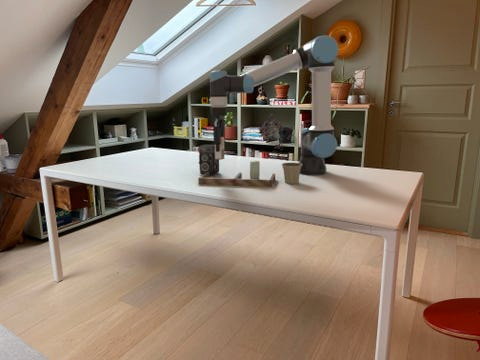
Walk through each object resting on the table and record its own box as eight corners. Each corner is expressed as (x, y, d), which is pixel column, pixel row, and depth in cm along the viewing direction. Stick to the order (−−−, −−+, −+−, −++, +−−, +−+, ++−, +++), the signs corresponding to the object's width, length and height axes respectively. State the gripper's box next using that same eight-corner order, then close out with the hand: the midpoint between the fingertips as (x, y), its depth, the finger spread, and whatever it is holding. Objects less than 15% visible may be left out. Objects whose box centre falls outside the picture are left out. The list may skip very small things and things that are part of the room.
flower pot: (277, 182, 167) (277, 164, 165) (290, 179, 172) (291, 161, 170) (292, 186, 160) (292, 167, 157) (305, 182, 165) (306, 164, 163)
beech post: (225, 158, 169) (225, 136, 166) (223, 159, 164) (222, 138, 162) (216, 157, 169) (215, 136, 167) (213, 159, 165) (213, 137, 163)
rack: (275, 179, 171) (275, 173, 171) (271, 187, 158) (272, 180, 157) (207, 177, 178) (206, 171, 177) (198, 184, 165) (198, 177, 164)
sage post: (260, 181, 168) (260, 160, 166) (258, 183, 164) (258, 162, 162) (250, 181, 169) (250, 160, 167) (249, 183, 165) (249, 162, 162)
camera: (195, 175, 181) (194, 146, 178) (203, 171, 191) (202, 143, 188) (214, 177, 178) (213, 147, 175) (222, 172, 188) (221, 144, 185)
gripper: (215, 105, 170) (216, 154, 176) (205, 107, 154) (206, 160, 159) (231, 105, 169) (231, 154, 174) (222, 107, 152) (223, 161, 158)
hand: (219, 157), depth 167 cm, fingers closed on beech post, 4 cm apart
